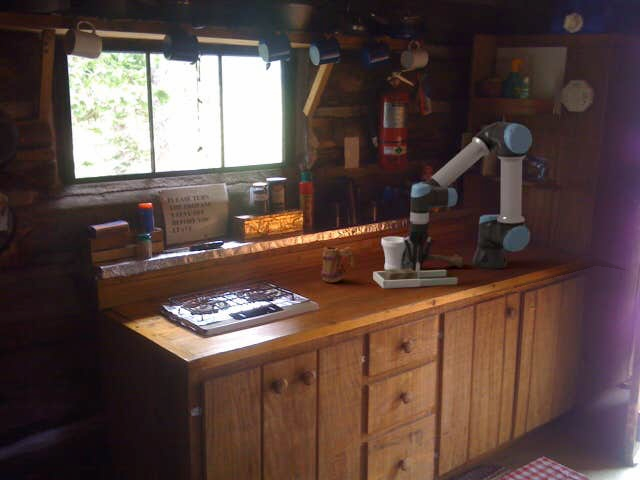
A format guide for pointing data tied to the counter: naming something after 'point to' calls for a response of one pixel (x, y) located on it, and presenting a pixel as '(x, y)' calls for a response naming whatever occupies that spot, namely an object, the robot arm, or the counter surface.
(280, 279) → the counter surface
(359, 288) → the counter surface
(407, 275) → the chip
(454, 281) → the slot rails
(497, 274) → the counter surface
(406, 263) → the hammer
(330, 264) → the mug
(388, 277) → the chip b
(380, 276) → the tray frame
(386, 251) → the cup
